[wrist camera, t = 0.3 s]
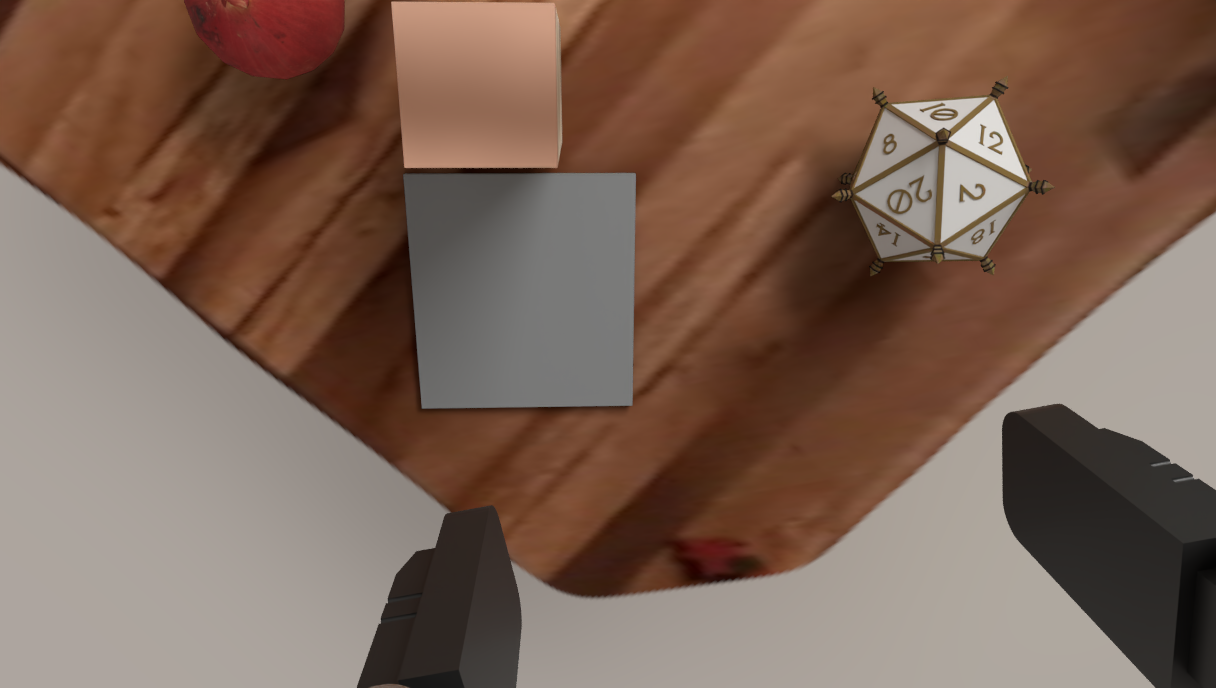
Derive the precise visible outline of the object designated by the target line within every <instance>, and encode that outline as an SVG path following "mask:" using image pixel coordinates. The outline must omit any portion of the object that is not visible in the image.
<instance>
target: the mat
mask: <svg viewBox="0 0 1216 688" xmlns="http://www.w3.org/2000/svg"><path fill="white" fill-rule="evenodd" d="M403 178H404V190H405V203H406V215H407V228H408V240H409V253H410V265H411V278H412V291H413V303H414V316H415V328H416V341H417V353H418V366H419V378H420V391H421V403H422V409H425V408H497V407H568V406H632V397H633V329H634V261H635V194H636V174H635V173H405V174H403Z"/></svg>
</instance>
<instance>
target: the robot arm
mask: <svg viewBox="0 0 1216 688" xmlns="http://www.w3.org/2000/svg"><path fill="white" fill-rule="evenodd" d="M1002 458H1003V459H1002V463H1003V464H1002V466H1003V467H1002V471H1003V506H1004V511H1005V515H1006V518H1007V521H1008V524H1009V526H1010V528H1011V530H1012V532H1013V534H1014V536H1015V537H1016V538H1017V540H1018V541H1019V542H1020V543H1021V544H1022V545H1023V546H1024V547H1025V549H1026V550H1027V551H1028V552H1029V553H1030V554H1031V555H1032V556H1033V557H1034V558H1035V559H1036V560H1037V561H1038V563H1039V564H1040V565H1041V566H1042V567H1043V568H1044V569H1045V570H1046V571H1047V572H1048V573H1049V574H1050V575H1051V576H1052V577H1053V579H1054V580H1055V581H1056V582H1057V583H1058V584H1059V585H1060V586H1061V587H1062V588H1063V589H1064V590H1065V591H1066V592H1067V593H1068V595H1069V596H1070V597H1071V598H1072V599H1073V600H1074V601H1075V602H1076V603H1077V604H1078V605H1079V606H1080V607H1081V609H1082V610H1083V611H1084V612H1085V613H1086V614H1087V615H1088V616H1089V617H1090V618H1091V619H1092V620H1093V621H1094V622H1095V623H1096V625H1097V626H1098V627H1099V628H1100V629H1101V630H1102V631H1103V632H1104V633H1105V634H1106V635H1107V636H1108V637H1109V638H1110V640H1112V641H1113V643H1114V644H1115V645H1116V646H1117V647H1118V648H1119V649H1120V650H1121V651H1122V652H1123V653H1124V654H1125V655H1126V657H1127V658H1128V659H1129V660H1130V661H1131V662H1132V663H1133V664H1134V665H1135V666H1136V667H1137V668H1138V669H1139V671H1140V672H1141V673H1142V674H1143V675H1144V676H1145V677H1146V678H1147V679H1148V680H1149V681H1150V682H1151V683H1152V684H1153V685H1154V686H1155V688H1216V490H1215V489H1213V488H1212V487H1210V486H1209V485H1207V484H1206V483H1204V482H1203V481H1201V480H1200V479H1194V478H1193V475H1192V474H1191V473H1189V472H1188V471H1186V470H1184V469H1183V468H1182V467H1180V466H1179V465H1177V464H1171V463H1170V460H1169V459H1168V458H1166V457H1165V456H1163V455H1162V454H1160V453H1159V452H1157V451H1156V450H1154V449H1153V448H1151V447H1150V446H1148V445H1147V444H1145V443H1144V442H1142V441H1139V440H1137V439H1134V438H1131V437H1128V436H1125V435H1123V434H1120V433H1117V432H1114V431H1111V430H1108V429H1105V428H1103V429H1098V428H1096V427H1095V426H1093V425H1092V424H1091V423H1089V422H1088V421H1086V420H1085V419H1084V418H1082V417H1081V416H1079V415H1078V414H1076V413H1075V412H1073V411H1072V410H1070V409H1069V408H1068V407H1066V406H1064V405H1062V404H1053V405H1048V406H1042V407H1037V408H1031V409H1026V410H1020V411H1015V412H1010V413H1008V414H1007V415H1006V416H1005V418H1004V421H1003V425H1002ZM521 621H522V620H521V607H520V598H519V593H518V588H517V584H516V580H515V576H514V573H513V570H512V565H511V561H510V558H509V554H508V550H507V546H506V543H505V539H504V535H503V532H502V528H501V524H500V520H499V517H498V514H497V511H496V509H495V508H494V506H492V505H491V506H486V507H480V508H475V509H469V510H464V511H458V512H453V513H447V514H446V515H445V517H444V520H443V523H442V527H441V530H440V534H439V537H438V541H437V544H436V548H433V549H427V550H421V551H417V552H415V554H414V555H413V556H412V557H411V558H410V559H409V561H408V562H407V563H406V564H405V565H404V566H403V567H402V568H401V570H400V571H399V572H398V573H397V574H396V576H395V579H394V582H393V585H392V588H391V591H390V593H389V596H388V603H386V605H385V608H384V611H383V613H382V616H381V624H379V625H378V628H377V631H376V634H375V637H374V639H373V642H372V645H371V648H370V651H369V654H368V657H367V659H366V662H365V665H364V668H363V671H362V674H361V677H360V680H359V683H358V685H357V688H516V682H517V670H518V660H519V648H520V638H521V626H522V625H521V624H522V623H521Z"/></svg>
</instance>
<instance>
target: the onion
mask: <svg viewBox="0 0 1216 688" xmlns="http://www.w3.org/2000/svg"><path fill="white" fill-rule="evenodd" d="M184 3H185V5H186V8H187V10H188V13H189V15H190V18H191V21H192V23H193V26H194V28H195V31H196V33H197V35H198V36H199V37H200V38H201V39H202V40H203V41H204V42H205V44H206V45H207V46H208V47H209V48H210V49H211V50H212V51H213V52H214V53H215V54H216V55H217V56H218V57H219V58H220V59H221V60H222V61H223V62H224V63H226V64H228V65H230V66H232V67H235V68H237V69H239V70H241V71H243V72H245V73H247V74H249V75H252V76H257V77H268V78H279V79H289V78H292V77H295V76H298V75H301V74H304V73H307V72H310V71H312V70H314V69H316V68H317V67H318V66H319V65H320V64H321V63H322V62H323V61H325V60H326V59H327V58H328V57H329V56H330V55H331V54H332V53H334V50H335V48H336V46H337V44H338V42H339V40H340V37H341V35H342V33H343V31H344V8H345V1H344V0H184Z"/></svg>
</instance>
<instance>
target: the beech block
mask: <svg viewBox="0 0 1216 688" xmlns="http://www.w3.org/2000/svg"><path fill="white" fill-rule="evenodd" d="M391 4H392V16H393V29H394V42H395V54H396V67H397V80H398V92H399V105H400V118H401V130H402V143H403V156H404V168H557V167H558V162H559V156H560V150H561V144H562V102H561V35H560V24H559V20H558V15H557V11H556V7H555V3H495V2H391Z"/></svg>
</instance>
